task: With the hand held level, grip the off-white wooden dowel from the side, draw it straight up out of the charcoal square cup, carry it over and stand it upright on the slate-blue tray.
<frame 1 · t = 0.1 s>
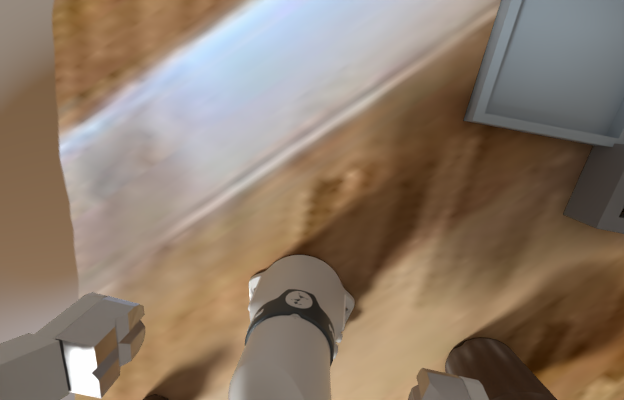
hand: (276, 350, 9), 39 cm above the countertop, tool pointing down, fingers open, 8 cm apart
plant pot: (480, 364, 53), on the countertop
tray: (562, 58, 39), on the countertop
pin cup: (616, 186, 43), on the countertop
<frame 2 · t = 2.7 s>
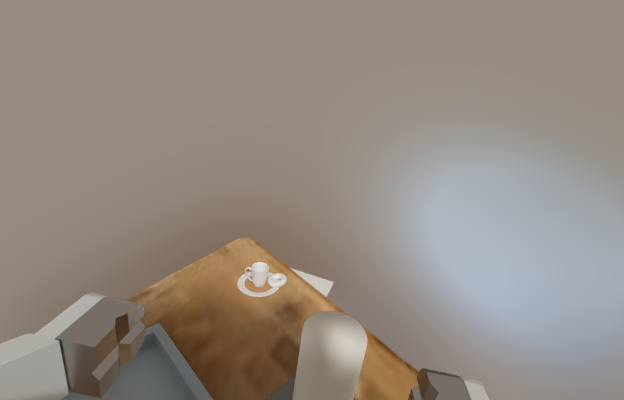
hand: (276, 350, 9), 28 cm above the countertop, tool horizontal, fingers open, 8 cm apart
teacup and saucer: (266, 295, 54), on the countertop
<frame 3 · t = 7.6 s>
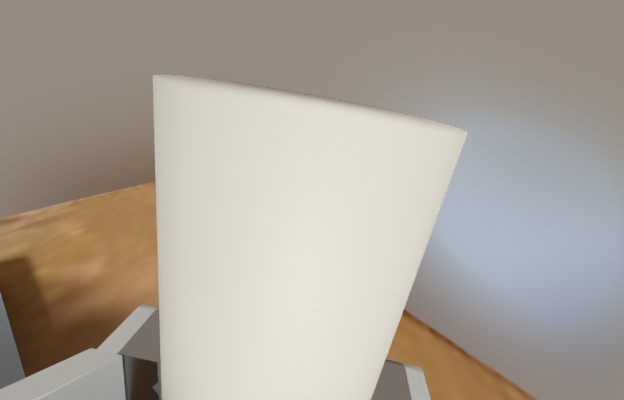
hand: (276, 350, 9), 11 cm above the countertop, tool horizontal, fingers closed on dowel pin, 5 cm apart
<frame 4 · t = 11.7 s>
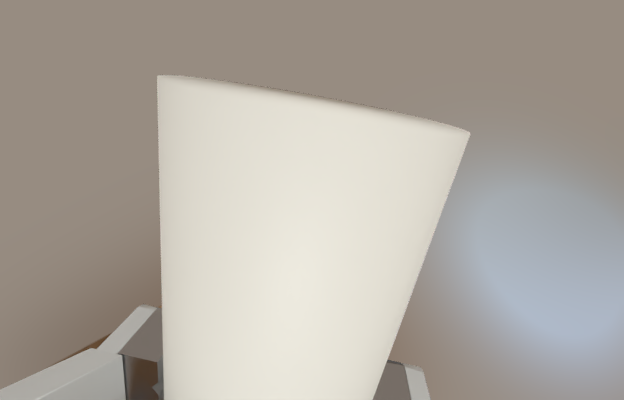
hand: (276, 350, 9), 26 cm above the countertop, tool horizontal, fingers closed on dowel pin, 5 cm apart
when the fingers open (13 cm above the countertop, at t = 16.1 s): dowel pin stays where it is, resting on tray.
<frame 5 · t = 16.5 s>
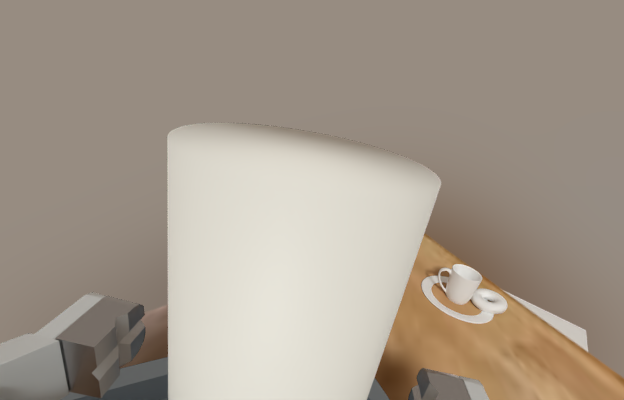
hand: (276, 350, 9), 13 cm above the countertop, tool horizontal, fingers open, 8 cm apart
teacup and saucer: (473, 322, 32), on the countertop
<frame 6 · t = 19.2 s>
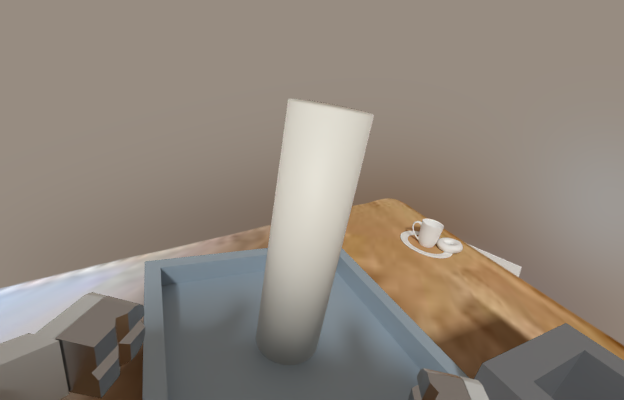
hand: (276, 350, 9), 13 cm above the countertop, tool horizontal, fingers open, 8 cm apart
dowel pin: (305, 240, 20), in the tray, point 10 cm above the countertop
tray: (285, 346, 24), on the countertop
teacup and saucer: (437, 258, 44), on the countertop
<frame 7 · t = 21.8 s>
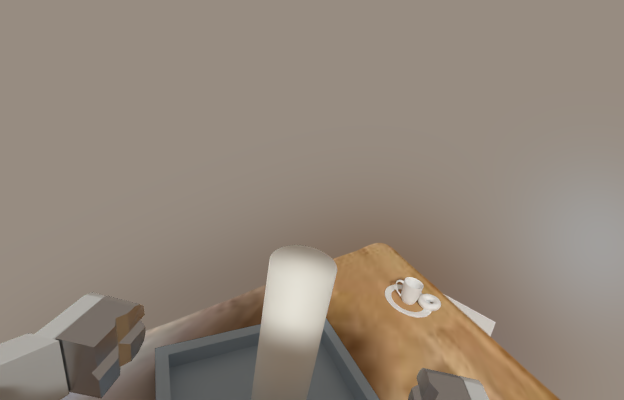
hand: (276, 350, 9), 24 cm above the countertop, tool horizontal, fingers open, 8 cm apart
dowel pin: (287, 352, 25), in the tray, point 10 cm above the countertop
teacup and saucer: (417, 316, 48), on the countertop
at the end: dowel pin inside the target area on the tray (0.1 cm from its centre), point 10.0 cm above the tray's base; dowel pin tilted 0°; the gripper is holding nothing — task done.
